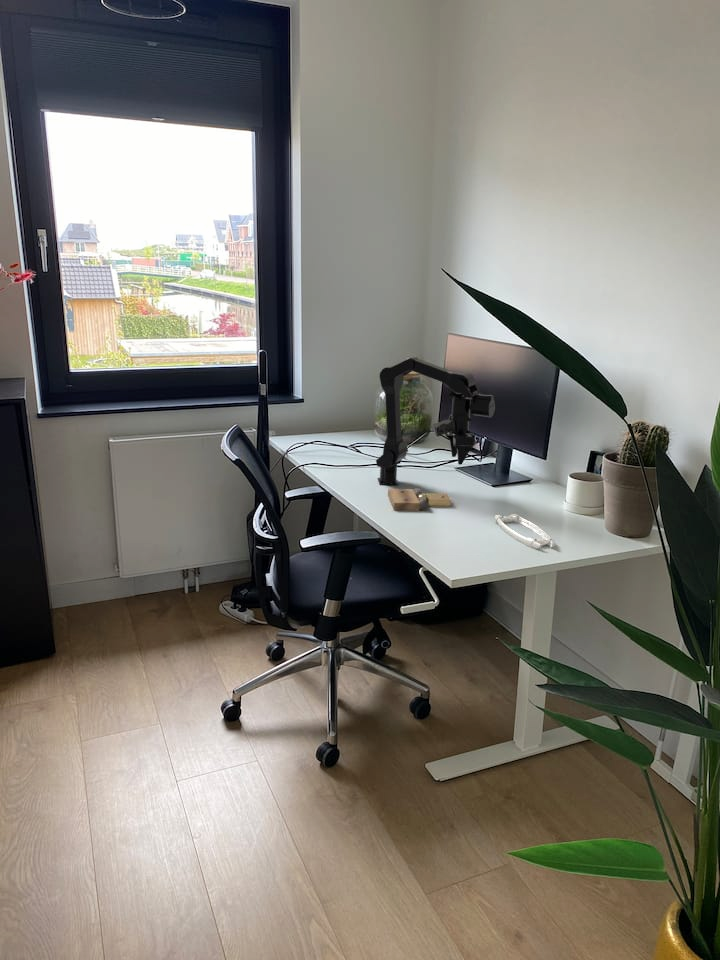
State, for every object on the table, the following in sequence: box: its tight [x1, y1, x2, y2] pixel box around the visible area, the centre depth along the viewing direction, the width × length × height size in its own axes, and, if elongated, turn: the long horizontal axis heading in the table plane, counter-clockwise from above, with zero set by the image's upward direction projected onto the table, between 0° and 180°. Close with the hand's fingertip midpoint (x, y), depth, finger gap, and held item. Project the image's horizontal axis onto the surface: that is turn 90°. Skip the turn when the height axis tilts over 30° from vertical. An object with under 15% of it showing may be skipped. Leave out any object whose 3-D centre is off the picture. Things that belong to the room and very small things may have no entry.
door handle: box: [494, 513, 555, 550], centre depth 206 cm, size 3×10×25 cm
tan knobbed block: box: [417, 492, 452, 507], centre depth 229 cm, size 10×6×3 cm, turn 95°
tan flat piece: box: [387, 487, 429, 511], centre depth 228 cm, size 11×14×3 cm
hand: (456, 460), depth 234 cm, fingers open, 9 cm apart
